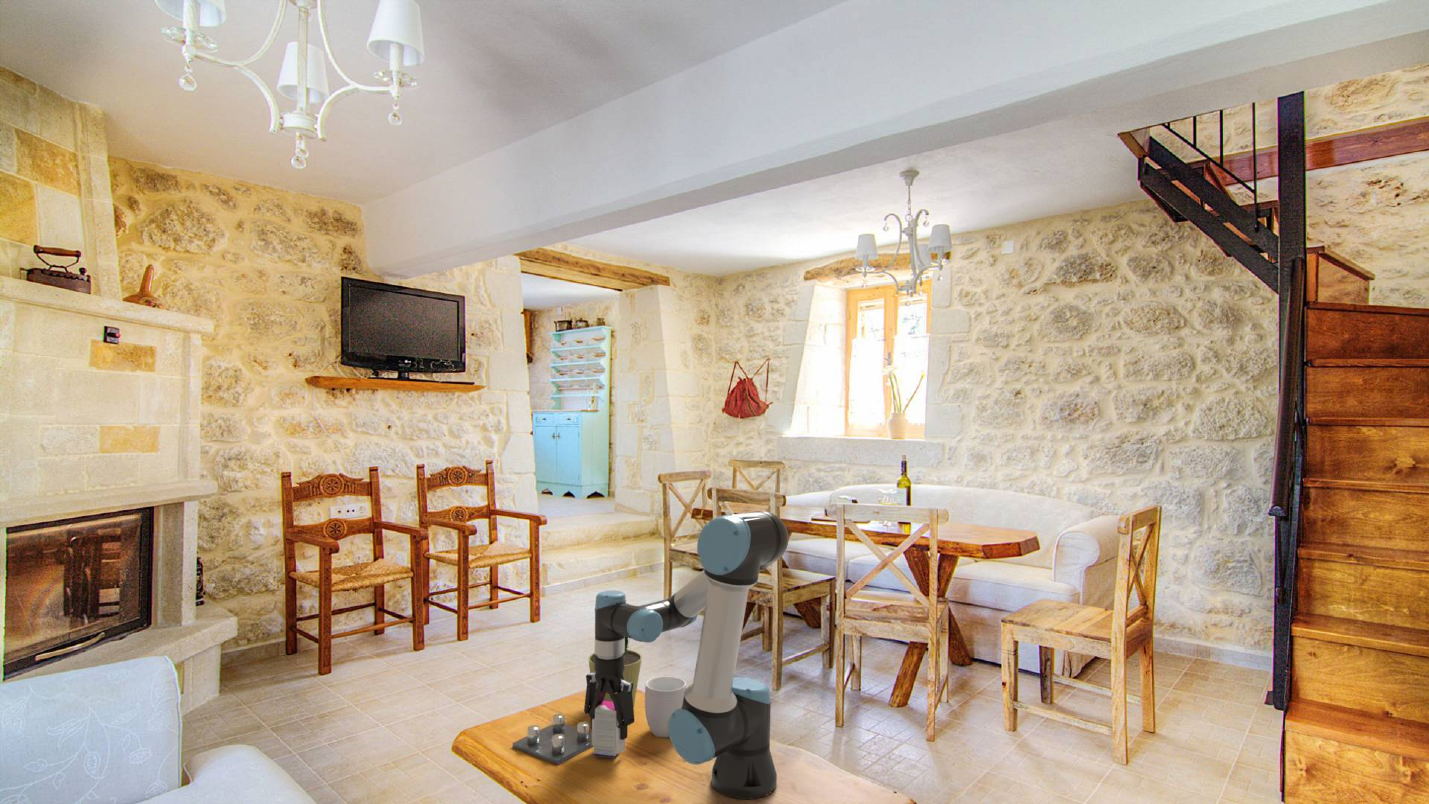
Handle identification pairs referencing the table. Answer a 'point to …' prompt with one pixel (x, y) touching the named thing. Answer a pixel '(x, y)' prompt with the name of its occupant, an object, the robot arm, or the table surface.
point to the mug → (662, 702)
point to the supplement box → (605, 730)
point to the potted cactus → (629, 671)
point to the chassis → (556, 740)
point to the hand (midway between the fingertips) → (608, 747)
